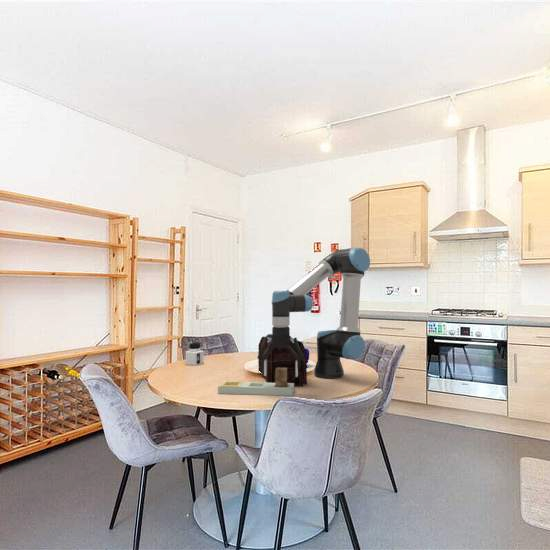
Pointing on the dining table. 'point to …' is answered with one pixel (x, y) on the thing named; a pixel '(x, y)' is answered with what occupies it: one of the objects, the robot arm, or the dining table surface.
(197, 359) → the container
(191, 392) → the dining table surface
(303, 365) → the crate
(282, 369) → the walnut block
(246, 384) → the sorting tray
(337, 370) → the robot arm
